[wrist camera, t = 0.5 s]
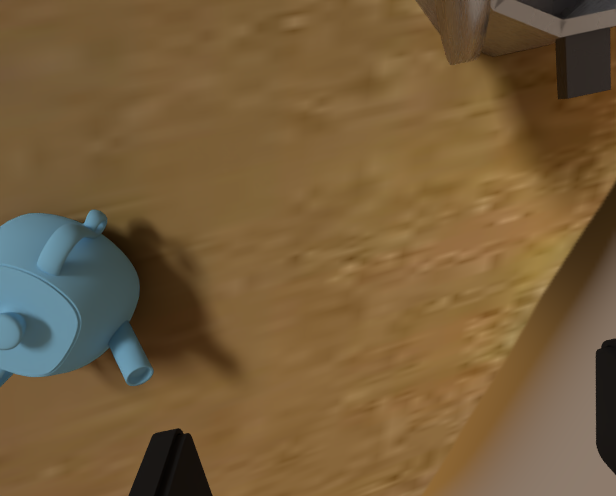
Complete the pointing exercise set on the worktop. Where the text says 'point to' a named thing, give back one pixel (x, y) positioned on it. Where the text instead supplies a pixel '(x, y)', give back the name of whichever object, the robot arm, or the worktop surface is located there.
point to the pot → (553, 37)
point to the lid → (462, 28)
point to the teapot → (66, 298)
